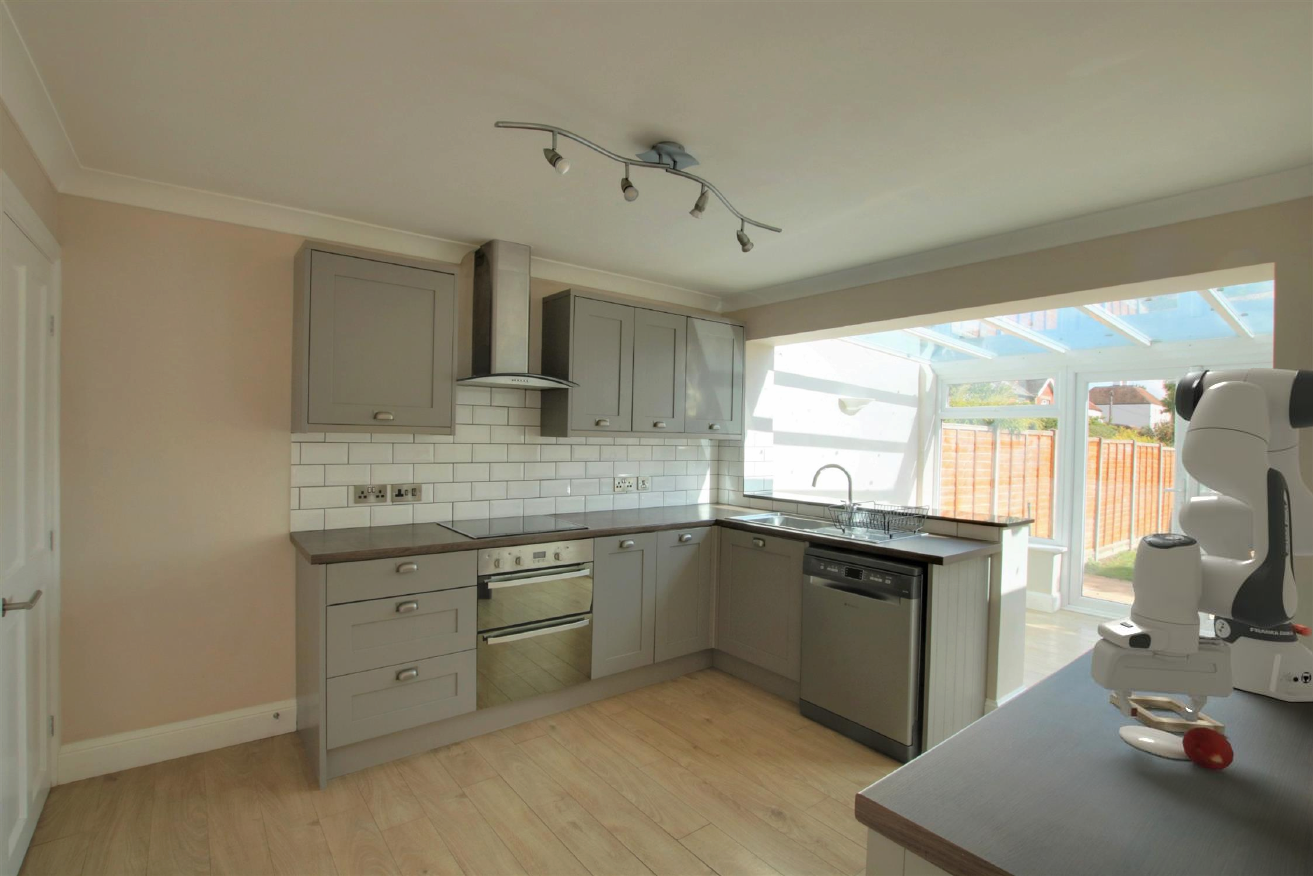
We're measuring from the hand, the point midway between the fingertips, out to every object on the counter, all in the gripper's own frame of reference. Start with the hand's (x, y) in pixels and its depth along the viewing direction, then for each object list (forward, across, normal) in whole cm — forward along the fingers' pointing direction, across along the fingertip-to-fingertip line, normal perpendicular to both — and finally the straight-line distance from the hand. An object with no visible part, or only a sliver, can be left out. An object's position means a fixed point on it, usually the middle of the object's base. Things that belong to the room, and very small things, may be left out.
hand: (1158, 718), depth 104 cm
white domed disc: (+4, 0, 0) cm, 4 cm away
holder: (+4, -9, -11) cm, 15 cm away
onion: (+1, -4, +4) cm, 5 cm away
